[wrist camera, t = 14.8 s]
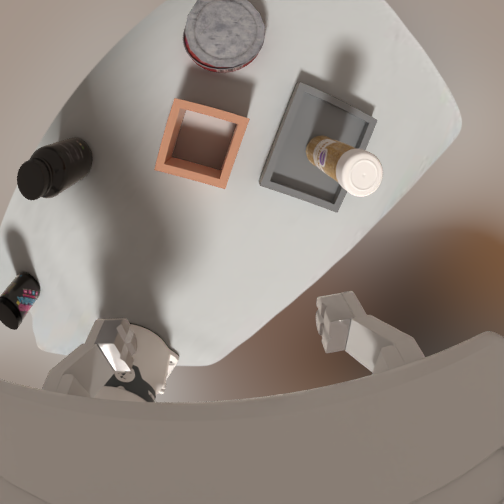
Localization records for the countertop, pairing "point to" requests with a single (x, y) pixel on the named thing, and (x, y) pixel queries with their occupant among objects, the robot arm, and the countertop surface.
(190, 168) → the terracotta holder
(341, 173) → the sprinkles bottle
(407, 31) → the countertop surface
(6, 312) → the supplement container
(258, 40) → the canned food
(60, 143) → the supplement bottle
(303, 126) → the charcoal tray
